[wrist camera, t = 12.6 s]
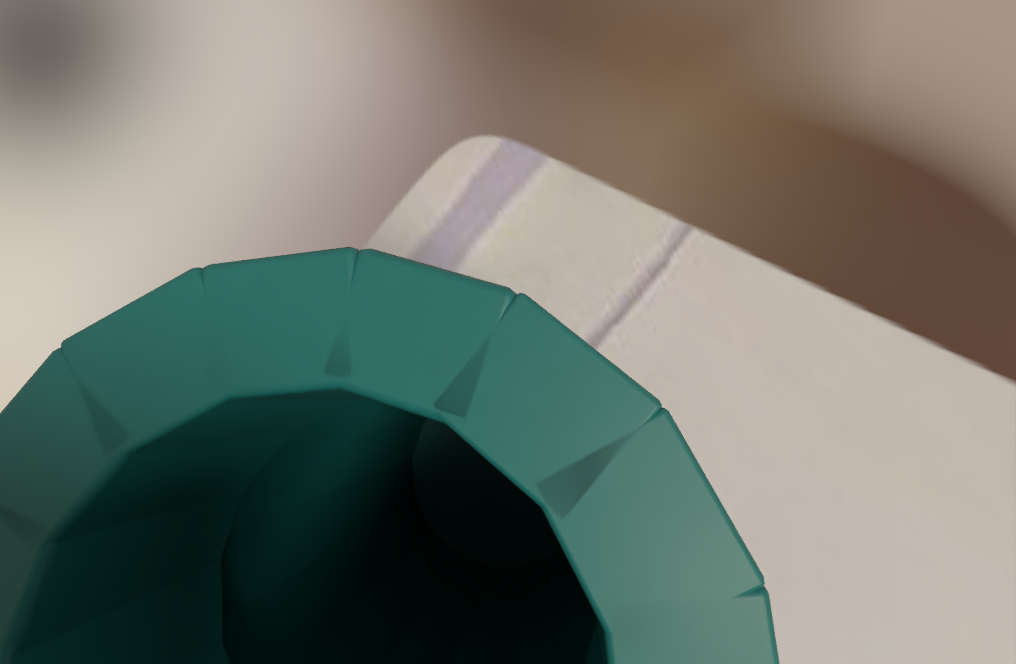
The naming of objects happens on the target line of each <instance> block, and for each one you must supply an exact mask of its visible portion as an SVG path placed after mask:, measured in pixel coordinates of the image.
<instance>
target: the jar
mask: <svg viewBox="0 0 1016 664" xmlns="http://www.w3.org/2000/svg"><path fill="white" fill-rule="evenodd" d="M661 406H662V405H661V403H660V401H659V400H658V399H657V398H656V397H654V396H653V395H652V394H651V393H649V392H648V391H647V390H646V389H644V388H643V387H642V386H641V385H639V384H638V383H637V382H635V381H634V380H633V379H632V378H630V377H629V376H628V375H627V374H625V373H624V372H623V371H622V370H620V369H619V368H618V367H617V366H615V365H614V364H613V363H612V362H610V361H609V360H608V359H606V358H605V357H604V356H603V355H601V354H600V353H599V352H598V351H596V350H595V349H594V348H593V347H591V346H590V345H589V344H588V343H586V342H585V341H584V340H583V339H581V338H580V337H579V336H577V335H576V334H575V333H574V332H572V331H571V330H570V329H569V328H567V327H566V326H565V325H564V324H562V323H561V322H560V321H559V320H557V319H556V318H555V317H554V316H552V315H551V314H550V313H548V312H547V311H546V310H545V309H543V308H542V307H541V306H540V305H538V304H537V303H536V302H535V301H533V300H532V299H531V298H530V297H528V296H527V295H526V294H523V293H519V294H516V293H515V292H514V291H512V290H511V289H510V288H508V287H505V286H501V285H498V284H494V283H490V282H487V281H483V280H480V279H476V278H473V277H469V276H466V275H462V274H459V273H455V272H451V271H448V270H444V269H441V268H437V267H434V266H430V265H427V264H423V263H420V262H416V261H413V260H409V259H405V258H402V257H398V256H395V255H391V254H388V253H384V252H381V251H377V250H374V249H363V250H360V251H359V250H358V249H355V248H351V247H345V248H337V249H329V250H321V251H314V252H305V253H298V254H290V255H282V256H275V257H266V258H258V259H251V260H242V261H235V262H226V263H219V264H212V265H208V266H206V267H204V268H203V269H202V268H193V269H191V270H188V271H187V272H185V273H183V274H181V275H180V276H178V277H176V278H174V279H173V280H171V281H169V282H167V283H165V284H163V285H162V286H160V287H158V288H156V289H155V290H153V291H151V292H149V293H147V294H146V295H144V296H142V297H140V298H138V299H137V300H135V301H133V302H131V303H130V304H128V305H126V306H124V307H122V308H121V309H119V310H117V311H115V312H113V313H112V314H110V315H108V316H106V317H105V318H103V319H101V320H99V321H97V322H96V323H94V324H92V325H90V326H88V327H87V328H85V329H83V330H81V331H80V332H78V333H76V334H74V335H73V336H71V337H69V338H67V339H65V340H64V341H63V342H62V343H61V348H58V349H57V350H55V351H53V352H52V353H51V355H50V356H49V357H48V358H47V359H46V360H45V361H44V363H43V364H42V365H41V366H40V367H39V369H38V370H37V371H36V372H35V373H34V374H33V376H32V377H31V378H30V379H29V380H28V382H27V383H26V384H25V385H24V386H23V387H22V388H21V390H20V391H19V392H18V393H17V394H16V396H15V397H14V398H13V399H12V400H11V402H10V403H9V404H8V405H7V406H6V407H5V408H4V410H3V411H2V412H1V413H0V664H779V658H778V652H777V645H776V639H775V632H774V625H773V619H772V612H771V606H770V599H769V593H768V592H767V590H766V588H765V587H764V586H763V585H764V584H765V583H764V577H763V575H762V573H761V571H760V570H759V568H758V566H757V564H756V563H755V561H754V559H753V557H752V556H751V554H750V552H749V551H748V549H747V547H746V545H745V544H744V542H743V540H742V538H741V537H740V535H739V533H738V531H737V530H736V528H735V526H734V524H733V523H732V521H731V519H730V517H729V516H728V514H727V512H726V510H725V509H724V507H723V505H722V503H721V502H720V500H719V498H718V496H717V495H716V493H715V491H714V489H713V488H712V486H711V484H710V483H709V481H708V479H707V477H706V476H705V474H704V472H703V470H702V469H701V467H700V465H699V463H698V462H697V460H696V458H695V456H694V455H693V453H692V451H691V449H690V448H689V446H688V444H687V442H686V441H685V439H684V437H683V435H682V434H681V432H680V430H679V428H678V427H677V425H676V423H675V421H674V420H673V418H672V416H671V415H670V413H669V411H667V410H666V409H665V408H661Z"/></svg>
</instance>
